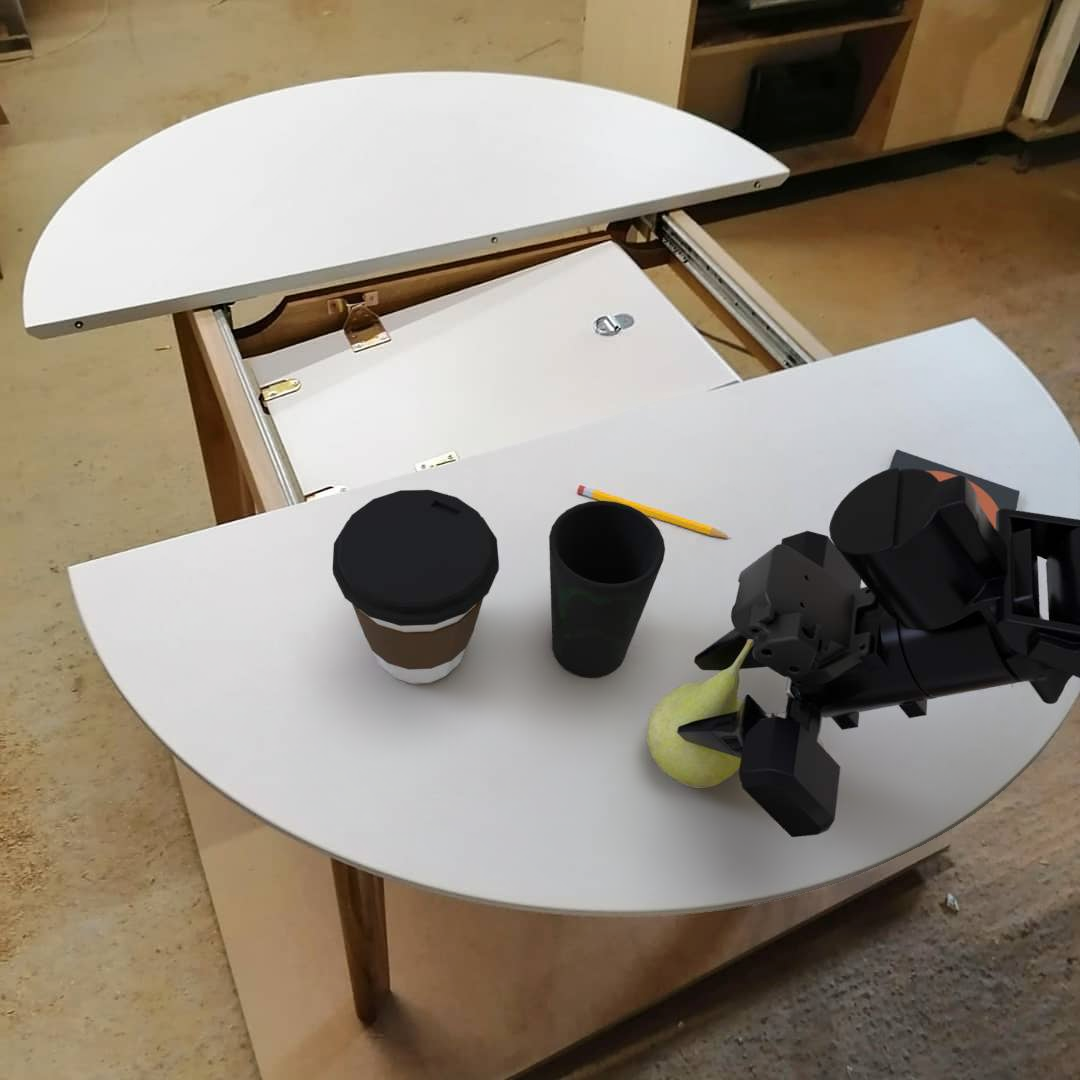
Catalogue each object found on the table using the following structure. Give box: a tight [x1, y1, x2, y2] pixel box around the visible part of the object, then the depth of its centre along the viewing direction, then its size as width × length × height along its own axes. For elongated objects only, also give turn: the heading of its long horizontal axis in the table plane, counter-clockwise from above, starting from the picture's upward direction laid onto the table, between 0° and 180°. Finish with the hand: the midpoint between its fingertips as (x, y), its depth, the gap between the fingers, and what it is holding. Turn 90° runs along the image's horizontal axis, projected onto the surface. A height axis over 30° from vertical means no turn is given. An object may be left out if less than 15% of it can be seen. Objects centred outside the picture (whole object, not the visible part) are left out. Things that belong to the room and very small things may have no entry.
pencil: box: [576, 484, 732, 539], centre depth 84 cm, size 1×13×1 cm, turn 69°
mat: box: [889, 449, 1021, 529], centre depth 87 cm, size 11×11×1 cm
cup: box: [548, 500, 666, 679], centre depth 71 cm, size 8×8×12 cm
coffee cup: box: [332, 489, 500, 685], centre depth 70 cm, size 11×11×12 cm
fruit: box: [646, 639, 754, 789], centre depth 65 cm, size 7×8×12 cm
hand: (689, 697), depth 65 cm, fingers closed on fruit, 5 cm apart
